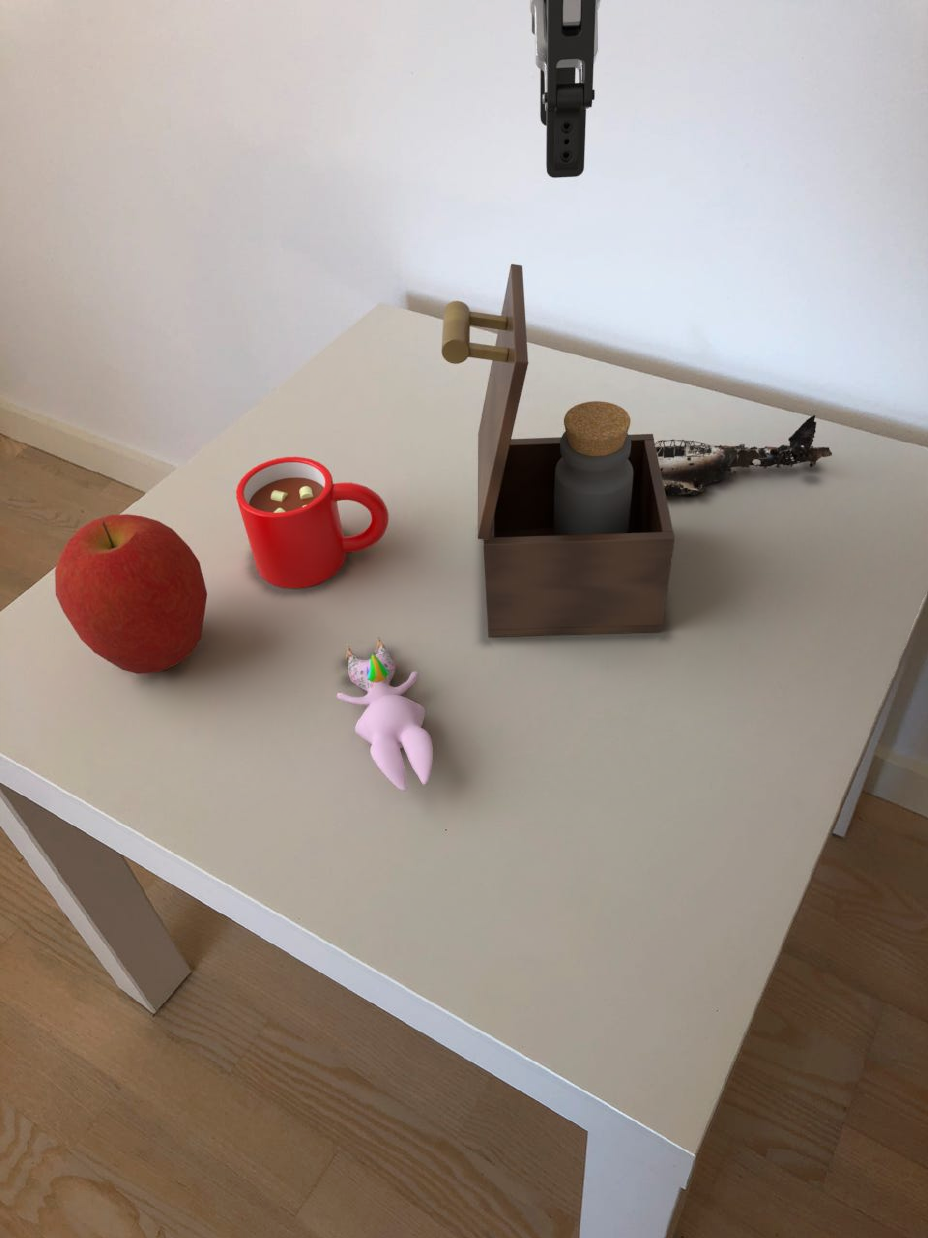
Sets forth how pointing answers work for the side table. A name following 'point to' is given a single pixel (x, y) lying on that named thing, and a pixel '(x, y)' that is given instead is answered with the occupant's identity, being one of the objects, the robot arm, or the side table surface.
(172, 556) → the apple
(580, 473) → the bottle
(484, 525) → the lid
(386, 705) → the pink creature figurine
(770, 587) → the side table surface
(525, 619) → the chest
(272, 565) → the mug
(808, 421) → the airplane wreck
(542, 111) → the robot arm
